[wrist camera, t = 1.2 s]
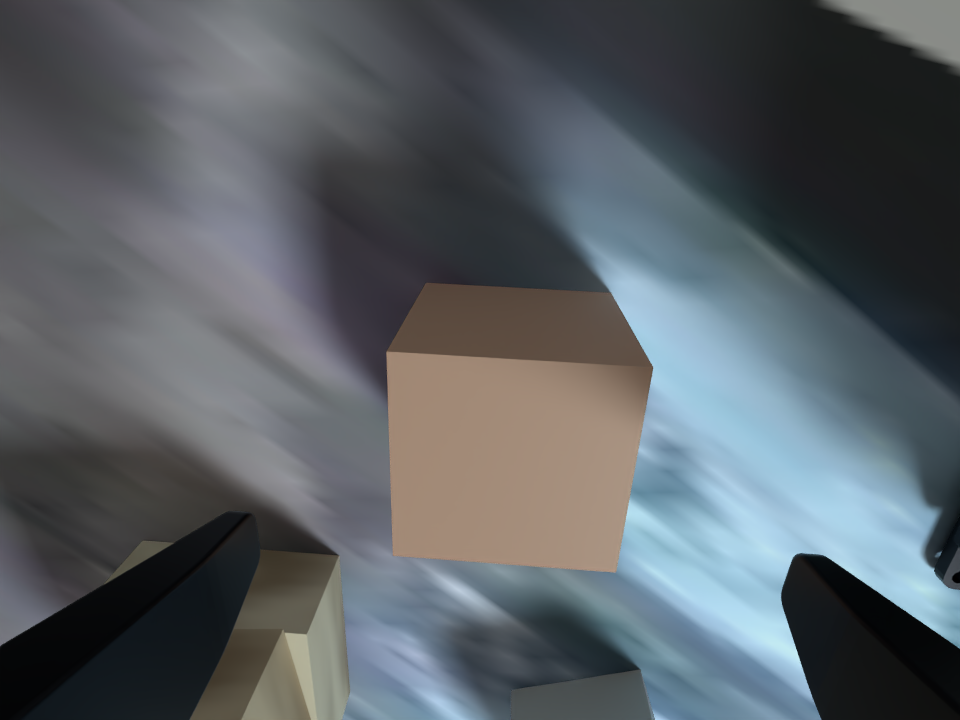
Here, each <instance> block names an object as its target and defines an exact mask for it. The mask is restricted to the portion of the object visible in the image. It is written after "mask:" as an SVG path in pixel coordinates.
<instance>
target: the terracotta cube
mask: <svg viewBox="0 0 960 720" xmlns="http://www.w3.org/2000/svg"><path fill="white" fill-rule="evenodd" d="M652 371H653V366H652V364H651V363H650V361H649V359H648V357H647V356H646V354H645V352H644V350H643V349H642V347H641V345H640V343H639V342H638V340H637V338H636V336H635V334H634V333H633V331H632V329H631V327H630V326H629V324H628V322H627V320H626V319H625V317H624V315H623V313H622V311H621V310H620V308H619V306H618V304H617V303H616V301H615V299H614V297H613V296H612V294H611V293H606V292H588V291H569V290H551V289H532V288H514V287H496V286H477V285H459V284H440V283H426V284H425V285H424V287H423V289H422V290H421V292H420V294H419V296H418V297H417V299H416V301H415V303H414V304H413V306H412V308H411V310H410V311H409V313H408V315H407V317H406V318H405V320H404V322H403V324H402V325H401V327H400V329H399V331H398V332H397V334H396V336H395V338H394V339H393V341H392V343H391V345H390V346H389V348H388V350H387V383H388V415H389V446H390V477H391V508H392V539H393V556H403V557H417V558H430V559H443V560H456V561H470V562H483V563H496V564H510V565H523V566H536V567H550V568H563V569H576V570H590V571H603V572H616V570H617V564H618V559H619V553H620V547H621V542H622V536H623V531H624V525H625V520H626V514H627V509H628V503H629V498H630V492H631V487H632V481H633V476H634V470H635V465H636V459H637V454H638V448H639V443H640V437H641V432H642V426H643V421H644V415H645V410H646V404H647V399H648V393H649V388H650V382H651V377H652Z"/></svg>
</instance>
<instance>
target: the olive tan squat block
mask: <svg viewBox="0 0 960 720" xmlns="http://www.w3.org/2000/svg"><path fill="white" fill-rule="evenodd" d="M171 544H173V543H170V542H157V541H142V542H141V543H140V544H139V545H138V546H137V547H136V548H135V550H134V551H133V552H132V553H131V554H130V555H129V556H128V557H127V559H126V560H125V561H124V562H123V563H122V564H121V565H120V566H119V567H118V569H117V570H116V571H115V572H114V573H113V574H112V575H111V576H110V578H109V579H108V580H107V581H106V582H105V583H104V584H106V583H107V582H109V581H111V580H112V579H114V578H116V577H117V576H119V575H121V574H122V573H124V572H126V571H128V570H129V569H131V568H133V567H134V566H136V565H138V564H139V563H141V562H143V561H144V560H146V559H148V558H150V557H151V556H153V555H155V554H156V553H158V552H160V551H161V550H163V549H165V548H166V547H168V546H170V545H171ZM104 584H103V585H104ZM234 629H283V630H284V633H285V636H286V639H287V643H288V646H289V649H290V653H291V656H292V659H293V662H294V666H295V669H296V672H297V676H298V679H299V682H300V685H301V689H302V692H303V695H304V699H305V702H306V705H307V708H308V712H309V715H310V718H311V720H342V717H343V714H344V710H345V707H346V704H347V700H348V697H349V693H350V685H349V673H348V660H347V648H346V635H345V623H344V610H343V598H342V585H341V573H340V560H339V555H326V554H313V553H300V552H287V551H274V550H261V549H260V560H259V564H258V567H257V569H256V572H255V574H254V577H253V580H252V582H251V585H250V587H249V590H248V592H247V595H246V598H245V600H244V603H243V605H242V608H241V611H240V613H239V616H238V618H237V621H236V623H235V626H234Z"/></svg>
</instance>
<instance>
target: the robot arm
mask: <svg viewBox="0 0 960 720" xmlns="http://www.w3.org/2000/svg"><path fill="white" fill-rule="evenodd" d="M259 560H260V543H259V537H258V531H257V524H256V519H255V516H254V515H253V514H252V513H250V512H241V511H228V512H226V513H224V514H222V515H220V516H219V517H217V518H215V519H214V520H212V521H210V522H209V523H207V524H205V525H204V526H202V527H200V528H198V529H197V530H195V531H193V532H192V533H190V534H188V535H187V536H185V537H183V538H182V539H180V540H178V541H177V542H175V543H173V544H171V545H170V546H168V547H166V548H165V549H163V550H161V551H160V552H158V553H156V554H155V555H153V556H151V557H150V558H148V559H146V560H144V561H143V562H141V563H139V564H138V565H136V566H134V567H133V568H131V569H129V570H128V571H126V572H124V573H122V574H121V575H119V576H117V577H116V578H114V579H112V580H111V581H109V582H107V583H106V584H104V585H102V586H101V587H99V588H97V589H95V590H94V591H92V592H90V593H89V594H87V595H85V596H84V597H82V598H80V599H79V600H77V601H75V602H74V603H72V604H70V605H68V606H67V607H65V608H63V609H62V610H60V611H58V612H57V613H55V614H53V615H52V616H50V617H48V618H46V619H45V620H43V621H41V622H40V623H38V624H36V625H35V626H33V627H31V628H30V629H28V630H26V631H24V632H23V633H21V634H19V635H18V636H16V637H14V638H13V639H11V640H9V641H8V642H6V643H4V644H2V645H1V646H0V720H190V718H191V716H192V714H193V712H194V711H195V709H196V707H197V705H198V703H199V701H200V699H201V697H202V695H203V693H204V691H205V689H206V687H207V685H208V683H209V681H210V679H211V677H212V675H213V673H214V671H215V669H216V667H217V665H218V663H219V661H220V659H221V657H222V655H223V653H224V651H225V648H226V646H227V644H228V641H229V639H230V636H231V634H232V631H233V629H234V626H235V623H236V621H237V618H238V616H239V613H240V611H241V608H242V605H243V603H244V600H245V598H246V595H247V592H248V590H249V587H250V585H251V582H252V580H253V577H254V574H255V572H256V569H257V567H258V564H259ZM934 572H935V574H936V576H937V577H938V578H939V579H940V580H941V581H942V582H943V583H944V584H945V585H946V586H947V587H948V588H952V589H958V590H960V516H959V518H958V520H957V522H956V525H955V527H954V529H953V531H952V533H951V535H950V537H949V539H948V541H947V543H946V545H945V547H944V549H943V551H942V553H941V555H940V557H939V560H938V562H937V564H936V566H935V570H934ZM781 601H782V606H783V609H784V612H785V615H786V618H787V621H788V625H789V628H790V631H791V634H792V637H793V640H794V643H795V646H796V649H797V652H798V655H799V658H800V661H801V664H802V667H803V671H804V674H805V677H806V680H807V683H808V686H809V689H810V691H811V694H812V697H813V700H814V702H815V705H816V707H817V710H818V712H819V715H820V717H821V719H822V720H960V649H959V648H958V647H956V646H955V645H954V644H952V643H951V642H949V641H948V640H946V639H945V638H943V637H942V636H941V635H939V634H938V633H936V632H935V631H933V630H932V629H930V628H929V627H927V626H926V625H925V624H923V623H922V622H920V621H919V620H917V619H916V618H914V617H913V616H912V615H910V614H909V613H907V612H906V611H904V610H903V609H901V608H900V607H898V606H897V605H896V604H894V603H893V602H891V601H890V600H888V599H887V598H885V597H884V596H883V595H881V594H880V593H878V592H877V591H875V590H874V589H872V588H871V587H869V586H868V585H867V584H865V583H864V582H862V581H861V580H859V579H858V578H856V577H855V576H854V575H852V574H851V573H849V572H848V571H846V570H845V569H843V568H842V567H840V566H839V565H838V564H836V563H835V562H833V561H832V560H830V559H829V558H827V557H826V556H823V555H818V554H804V553H800V554H797V555H795V556H794V557H793V559H792V562H791V565H790V567H789V570H788V573H787V576H786V579H785V582H784V585H783V588H782V592H781Z"/></svg>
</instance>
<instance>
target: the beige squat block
mask: <svg viewBox="0 0 960 720" xmlns="http://www.w3.org/2000/svg"><path fill="white" fill-rule="evenodd" d="M190 720H311V718H310V715H309V712H308V708H307V705H306V702H305V699H304V695H303V692H302V689H301V685H300V682H299V679H298V676H297V672H296V669H295V666H294V662H293V659H292V656H291V653H290V649H289V646H288V643H287V639H286V636H285V633H284V630H283V629H233V631H232V634H231V636H230V639H229V641H228V644H227V646H226V648H225V651H224V653H223V655H222V657H221V659H220V661H219V663H218V665H217V667H216V669H215V671H214V673H213V675H212V677H211V679H210V681H209V683H208V685H207V687H206V689H205V691H204V693H203V695H202V697H201V699H200V701H199V703H198V705H197V707H196V709H195V711H194V712H193V714H192V716H191V718H190Z"/></svg>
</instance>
